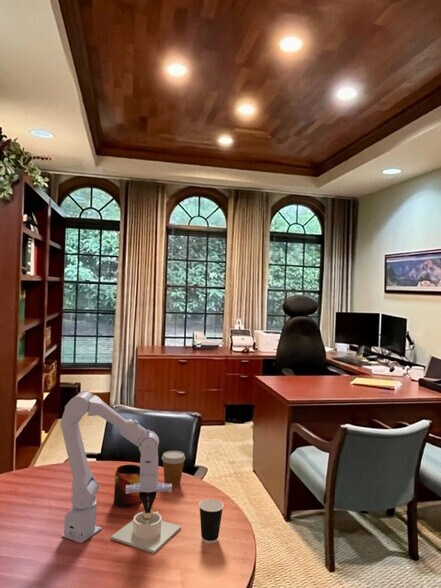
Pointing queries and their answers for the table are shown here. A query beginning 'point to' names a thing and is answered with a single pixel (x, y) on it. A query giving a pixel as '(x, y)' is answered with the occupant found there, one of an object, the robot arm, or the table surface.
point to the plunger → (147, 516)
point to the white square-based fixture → (146, 533)
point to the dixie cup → (210, 519)
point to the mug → (123, 478)
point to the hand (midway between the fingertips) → (148, 514)
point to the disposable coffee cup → (173, 467)
